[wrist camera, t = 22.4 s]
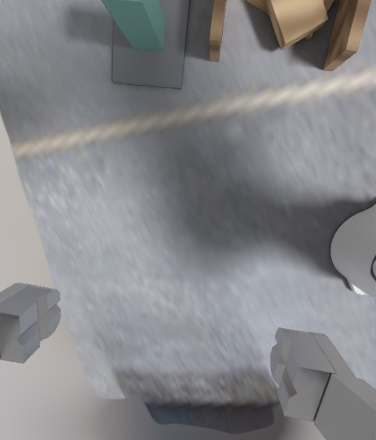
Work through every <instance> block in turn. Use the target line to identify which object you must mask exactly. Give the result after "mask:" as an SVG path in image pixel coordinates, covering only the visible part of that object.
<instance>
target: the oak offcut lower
mask: <svg viewBox="0 0 376 440" xmlns="http://www.w3.org/2000/svg"><path fill="white" fill-rule="evenodd" d="M246 1H248V2H249V3H251V4H253V5H254V6H256V7H257V8H259V9H260V10H262V11H264V12H265V13H267V14H268V15H269V13H268V11H267V8H266V5H265V2H264V0H246ZM333 1H334V0H323V3H324V6H325V9H326V13H327V11H328V10H329V8H330V6H331V5H332V3H333ZM313 34H314V32H313V33H311V34H310V35H308V36H306V37H305V38H306V39H308V40H309V39H310V38H311V37H312V35H313Z"/></svg>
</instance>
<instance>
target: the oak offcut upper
mask: <svg viewBox="0 0 376 440" xmlns="http://www.w3.org/2000/svg"><path fill="white" fill-rule="evenodd" d="M264 2H265V5H266V8H267V11H268V13H269V16H270V19H271V22H272V25H273V28H274V31H275V33H276V36H277V39H278V42H279V45H280V48H281V51H282V50H283V49H285V48H287V47H289V46H290V45H292V44H294V43H296V42H297V41H299V40H301V39H303V38H304V37H306V36H308V35H310V34H311V33H313V32H315V31H317V30H318V29H320V28H322V26H323V25H324V24H325V23H326V21H327V20H328V16H327V13H326V9H325V6H324V3H323V0H264Z"/></svg>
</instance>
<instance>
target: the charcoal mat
mask: <svg viewBox="0 0 376 440" xmlns="http://www.w3.org/2000/svg"><path fill="white" fill-rule="evenodd" d="M158 1H159V4H160V7H161V10H162V14H163V17H164V20H165V34H164V47H163V51H151V50H139V49H133V47H132V46H131V44H130V43H129V41H128V40H127V38H126V37H125V35H124V34H123V32H122V31H121V29H120V28H119V26H118V25H117V23H116V22H115V20H114V30H113V73H112V82H113V83H120V84H131V85H142V86H153V87H164V88H175V89H181V87H182V76H183V66H184V55H185V45H186V34H187V24H188V13H189V3H190V0H158Z"/></svg>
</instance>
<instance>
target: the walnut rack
mask: <svg viewBox="0 0 376 440" xmlns="http://www.w3.org/2000/svg"><path fill="white" fill-rule="evenodd" d="M226 2H227V0H214V4H213V13H212V21H211V30H210V38H209V54H210V61H216V62H219V56H220V48H221V41H222V33H223V25H224V18H225V10H226ZM370 3H371V0H339V4H338V9H337V13H336V17H335V21H334V25H333V30H332V34H331V38H330V42H329V47H328V51H327V55H326V59H325V63H324V68H323V70H328V71H333V70H335V69H336V68H337V67H338V66H340V65H341V64H342V63H343V62H345V61H346V60H347V59H348V58H350V57H351V56H352V55H353V54H355V53H356V52H357V51H358V48H359V44H360V40H361V37H362V33H363V29H364V25H365V22H366V18H367V14H368V10H369V7H370Z"/></svg>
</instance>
